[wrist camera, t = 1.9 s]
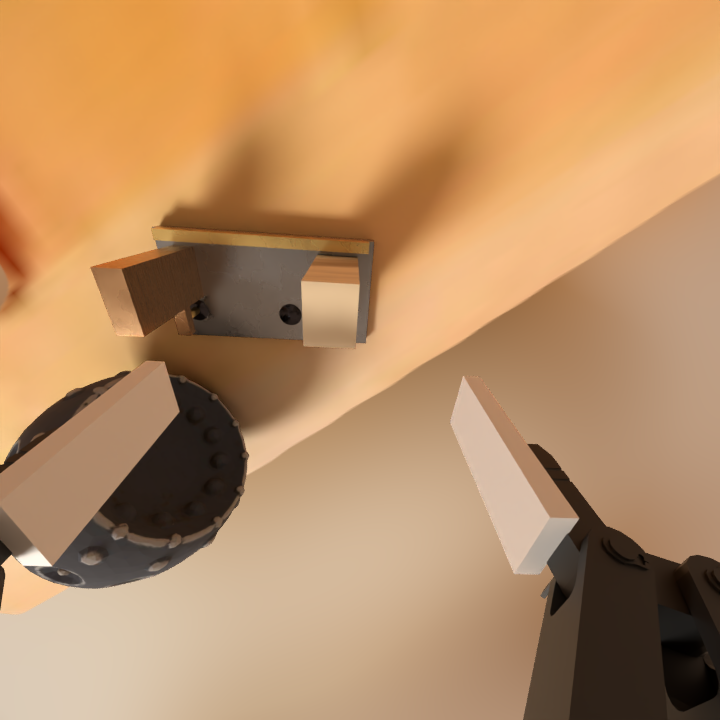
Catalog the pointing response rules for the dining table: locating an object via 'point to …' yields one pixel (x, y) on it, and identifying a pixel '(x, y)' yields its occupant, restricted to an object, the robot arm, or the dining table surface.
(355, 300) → the block
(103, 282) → the grey board with posts
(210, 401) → the dark studded bowl
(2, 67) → the dining table surface
